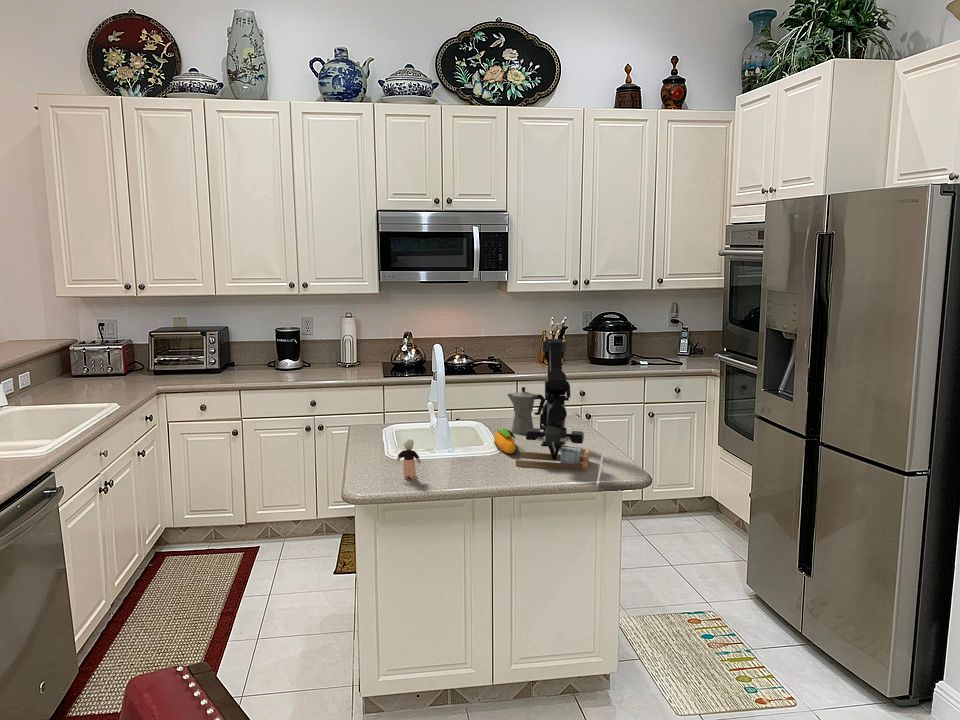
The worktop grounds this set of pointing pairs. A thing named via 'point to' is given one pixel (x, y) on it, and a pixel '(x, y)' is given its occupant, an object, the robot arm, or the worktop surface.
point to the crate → (570, 455)
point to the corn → (505, 441)
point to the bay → (550, 464)
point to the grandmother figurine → (409, 460)
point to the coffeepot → (524, 410)
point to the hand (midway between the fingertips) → (554, 460)
